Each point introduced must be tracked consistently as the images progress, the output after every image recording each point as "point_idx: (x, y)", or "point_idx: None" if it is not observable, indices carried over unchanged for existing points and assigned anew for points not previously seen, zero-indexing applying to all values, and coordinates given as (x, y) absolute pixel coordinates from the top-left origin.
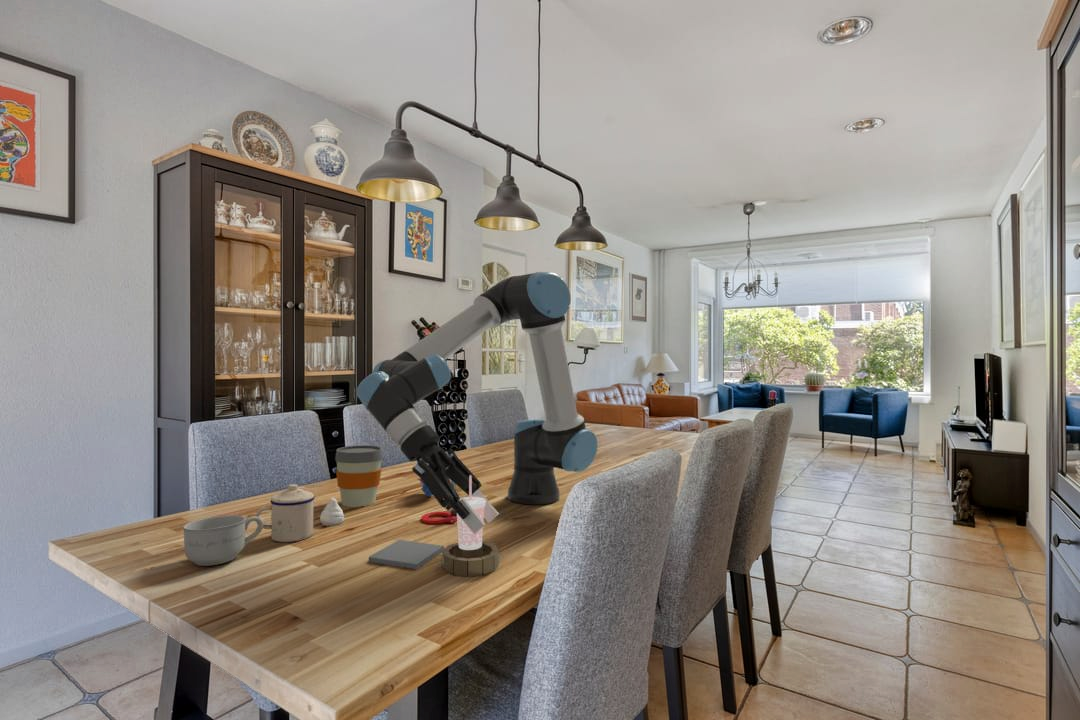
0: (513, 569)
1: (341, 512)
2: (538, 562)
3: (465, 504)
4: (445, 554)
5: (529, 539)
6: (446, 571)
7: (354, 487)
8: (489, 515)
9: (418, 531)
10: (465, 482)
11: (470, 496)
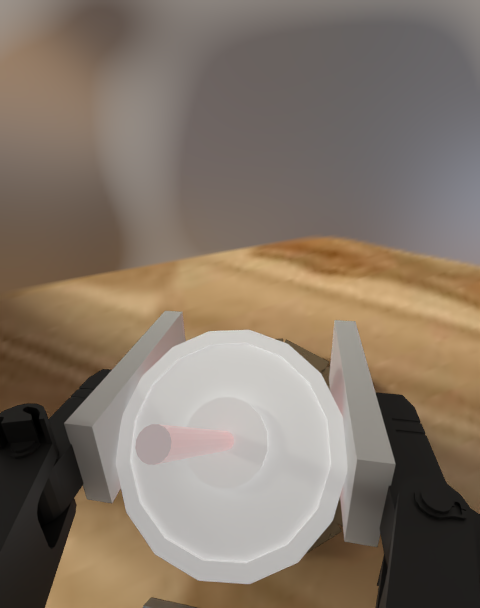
0: (258, 305)
1: None
2: (196, 261)
3: (382, 424)
4: (330, 528)
5: (31, 329)
6: None
7: None
8: None
9: None
10: (11, 577)
11: (228, 436)
